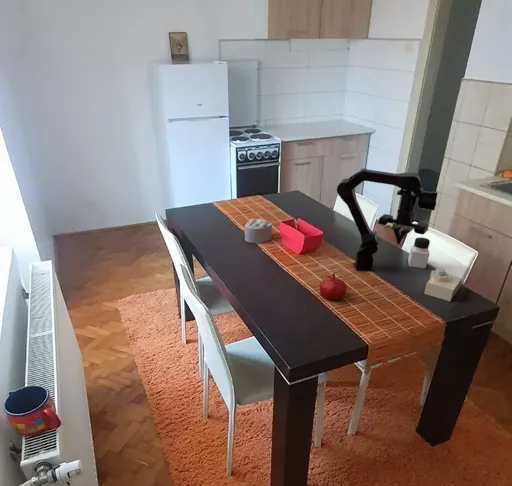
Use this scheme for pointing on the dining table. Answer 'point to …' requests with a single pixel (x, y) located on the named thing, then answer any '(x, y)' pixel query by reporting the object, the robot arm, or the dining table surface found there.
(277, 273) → the dining table surface
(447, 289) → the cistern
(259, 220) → the lumpy-topped squat cylinder
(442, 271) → the flush button
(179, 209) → the dining table surface
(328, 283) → the pomegranate
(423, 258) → the medicine bottle
